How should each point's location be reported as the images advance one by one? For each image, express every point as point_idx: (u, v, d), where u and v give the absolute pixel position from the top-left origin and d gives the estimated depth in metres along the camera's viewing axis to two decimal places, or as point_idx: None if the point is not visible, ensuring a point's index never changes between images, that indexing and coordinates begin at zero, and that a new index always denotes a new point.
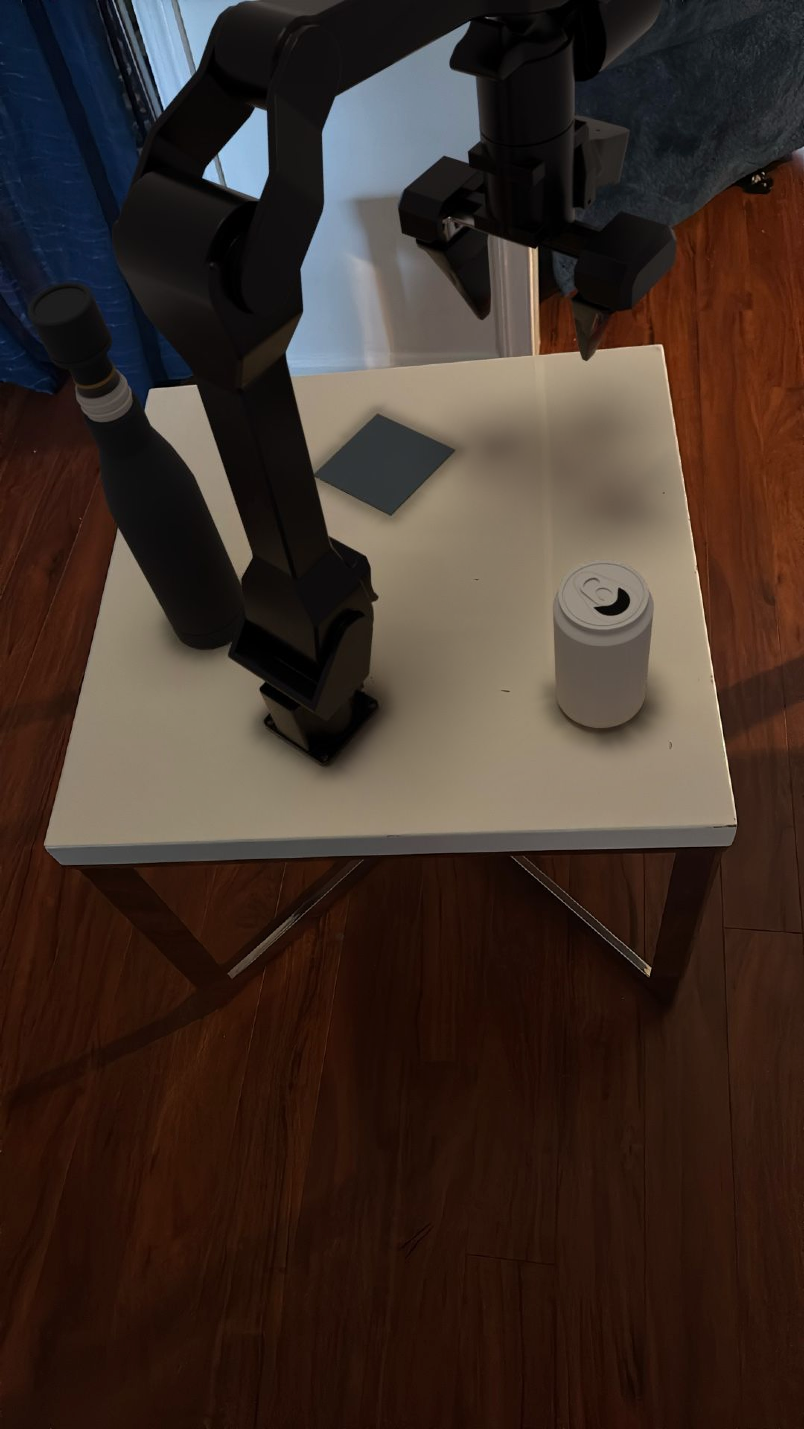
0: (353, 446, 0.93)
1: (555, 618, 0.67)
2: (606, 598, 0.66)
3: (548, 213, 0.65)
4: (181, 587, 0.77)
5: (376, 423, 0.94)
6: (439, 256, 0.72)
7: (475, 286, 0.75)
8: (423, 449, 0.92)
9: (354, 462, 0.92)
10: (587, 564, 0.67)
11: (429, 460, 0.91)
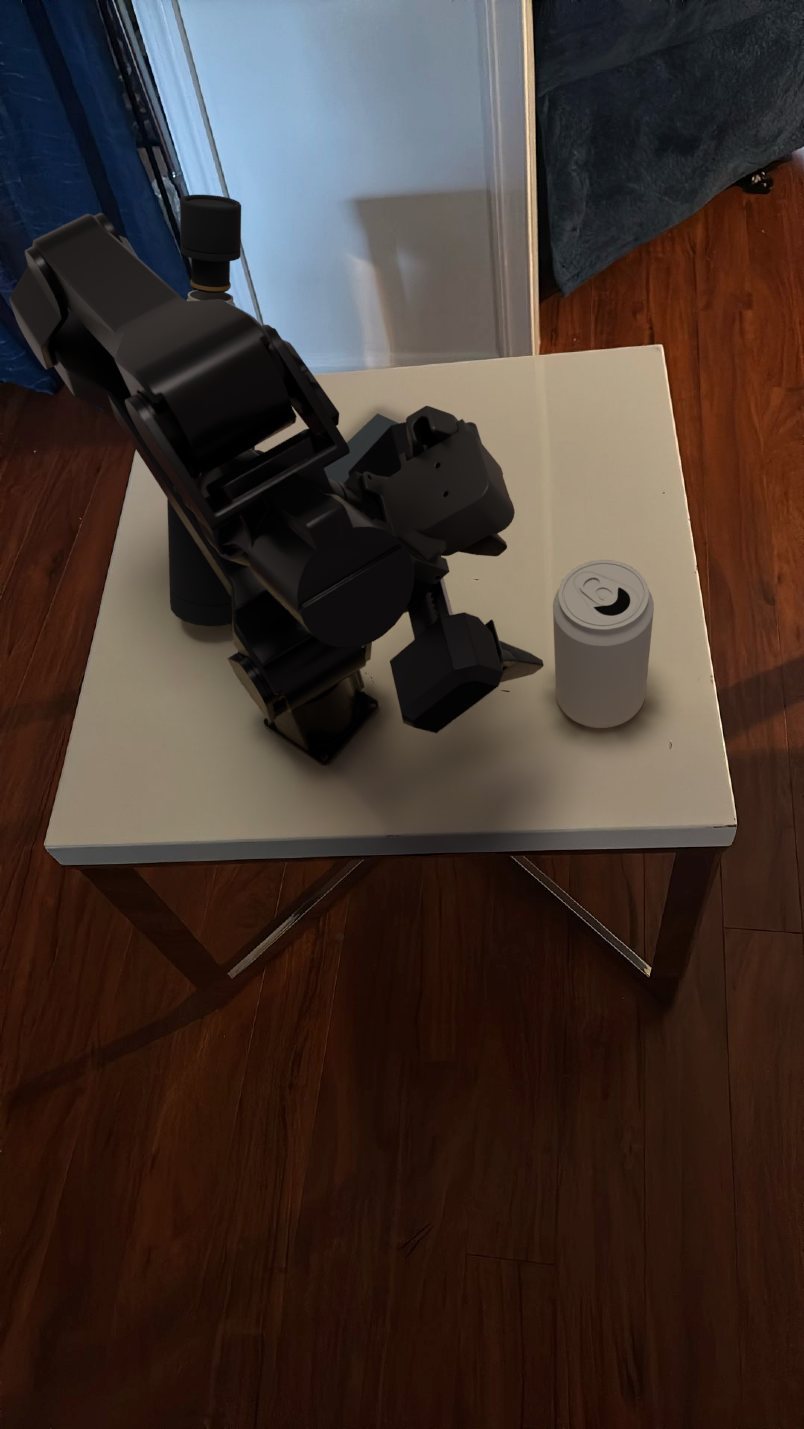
0: (353, 446, 0.93)
1: (555, 618, 0.67)
2: (607, 598, 0.66)
3: None
4: None
5: (376, 423, 0.94)
6: None
7: None
8: None
9: (354, 462, 0.92)
10: (587, 564, 0.67)
11: None
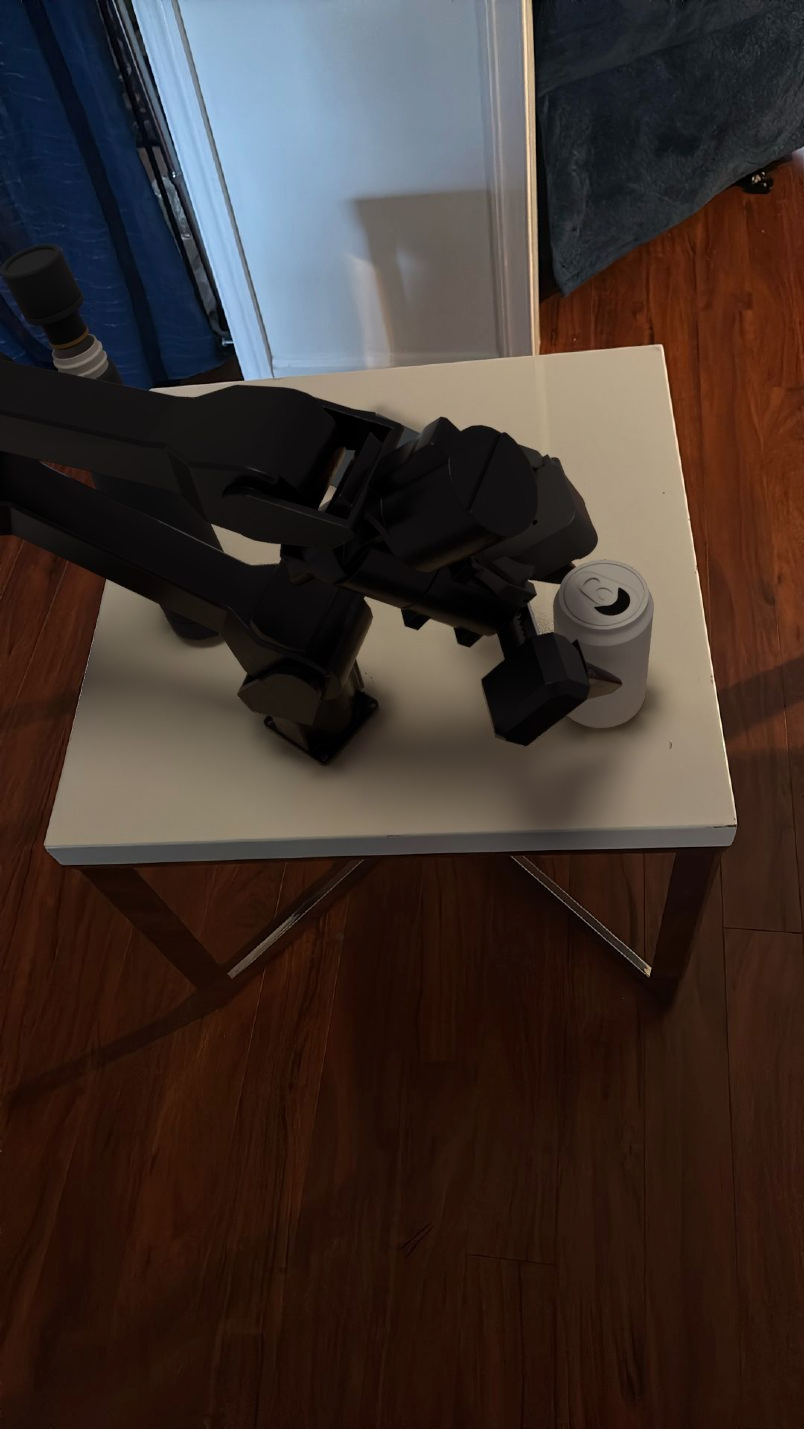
0: None
1: (555, 618, 0.67)
2: (607, 598, 0.66)
3: (465, 628, 0.62)
4: None
5: None
6: None
7: None
8: None
9: None
10: (587, 564, 0.67)
11: None
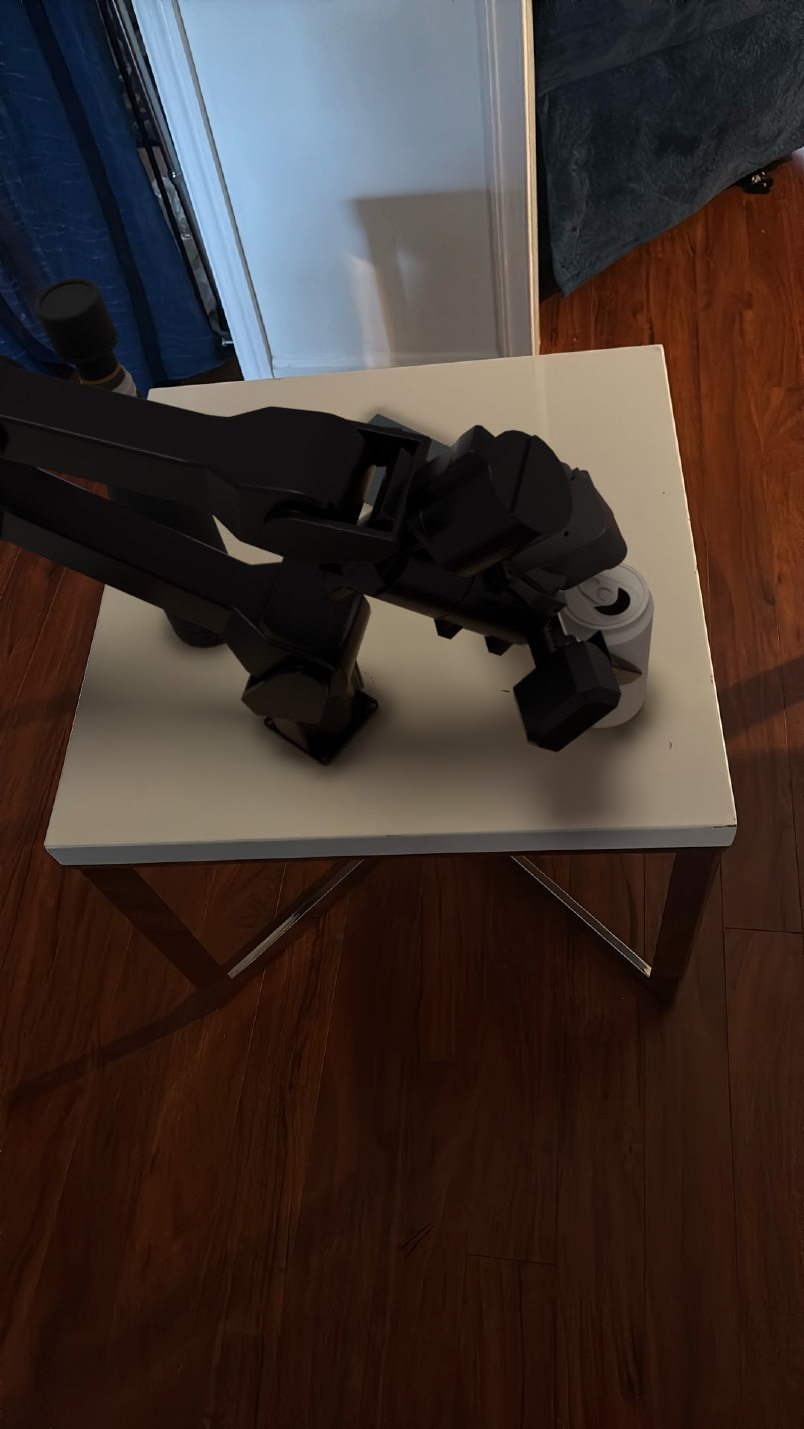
0: None
1: None
2: (607, 598, 0.66)
3: (496, 637, 0.63)
4: None
5: (376, 423, 0.94)
6: None
7: None
8: None
9: None
10: None
11: (429, 460, 0.91)
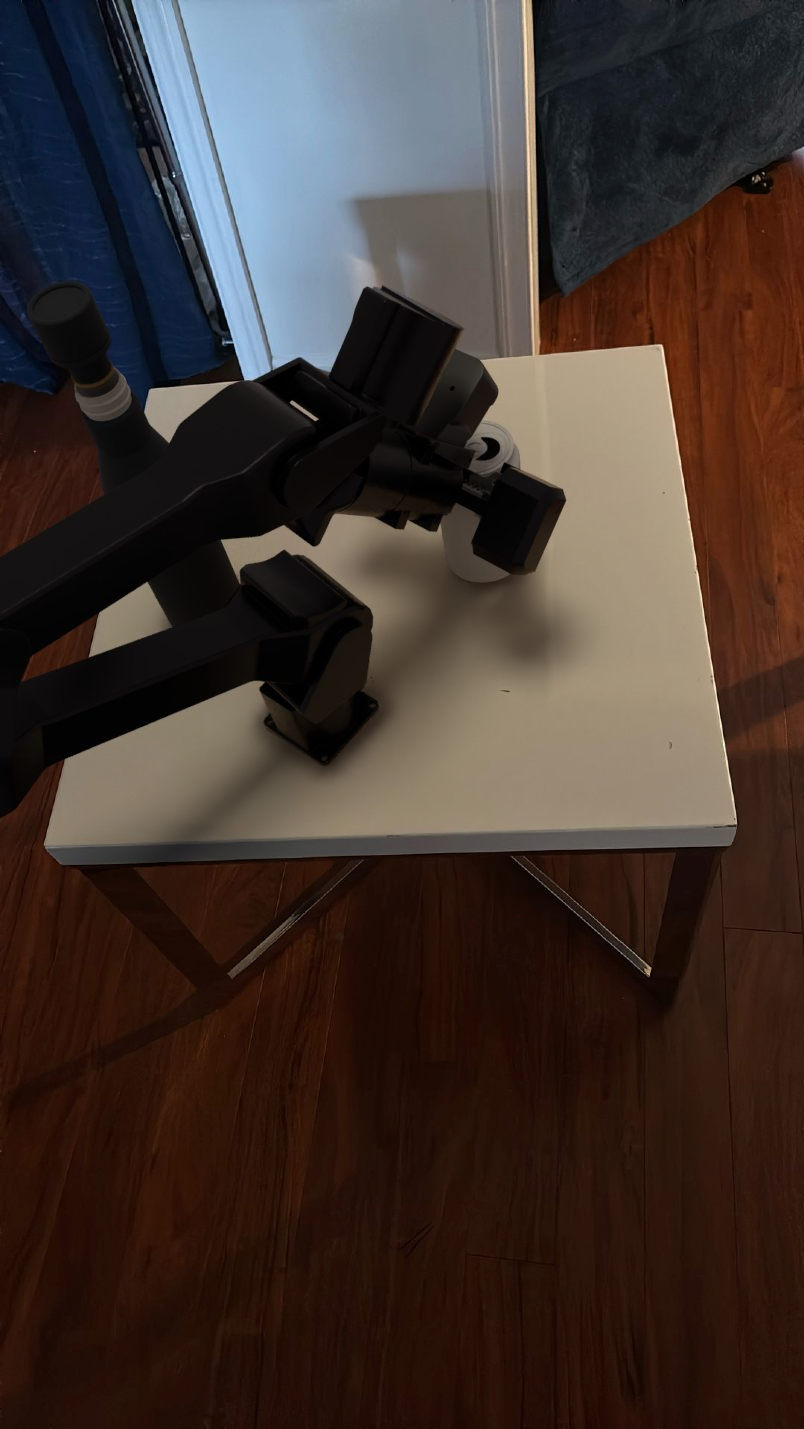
0: None
1: None
2: (479, 449, 0.74)
3: (432, 511, 0.69)
4: (184, 585, 0.77)
5: None
6: None
7: None
8: None
9: None
10: None
11: None
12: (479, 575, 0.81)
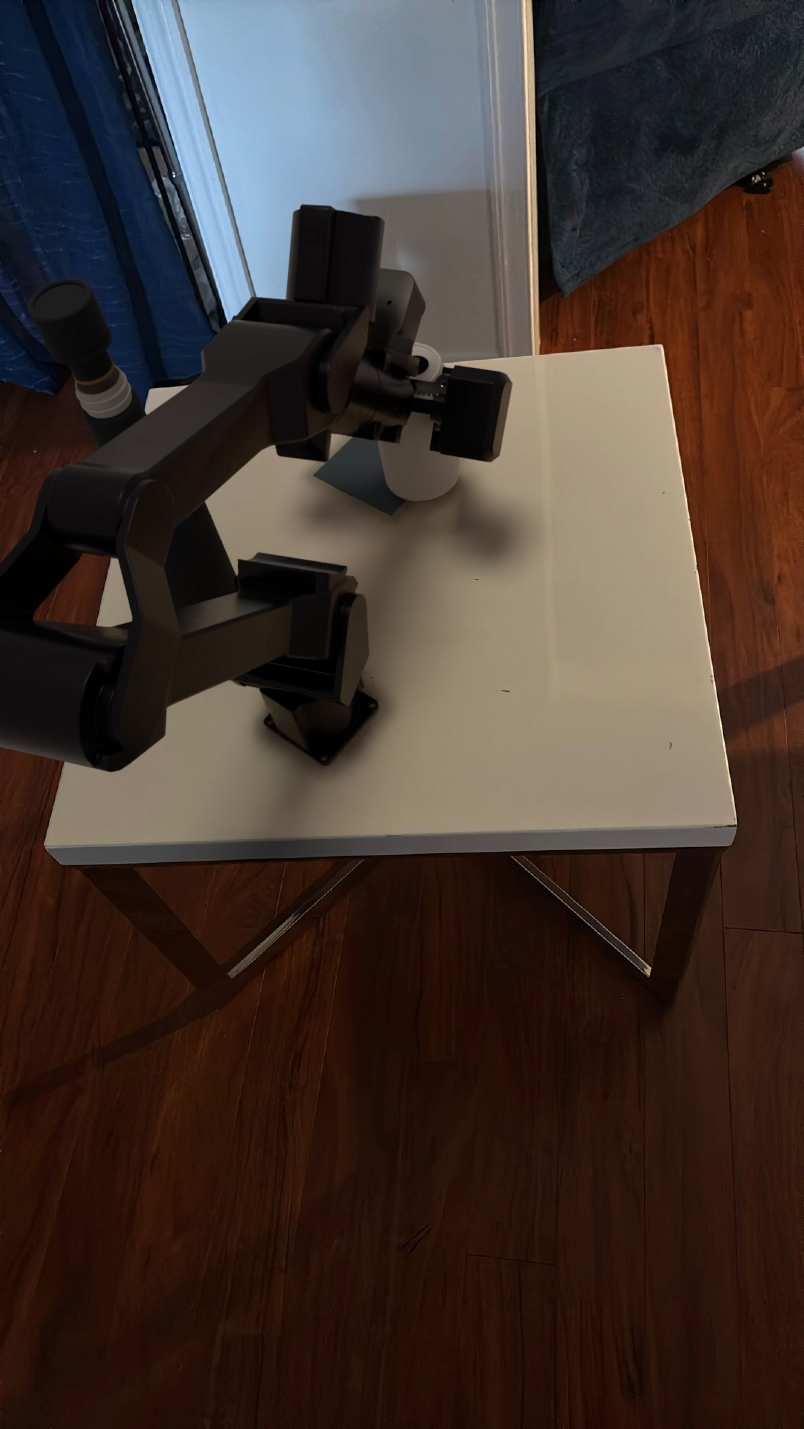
0: (353, 446, 0.93)
1: None
2: None
3: (395, 422, 0.73)
4: (184, 584, 0.77)
5: None
6: None
7: None
8: None
9: (354, 462, 0.92)
10: None
11: None
12: (428, 492, 0.86)
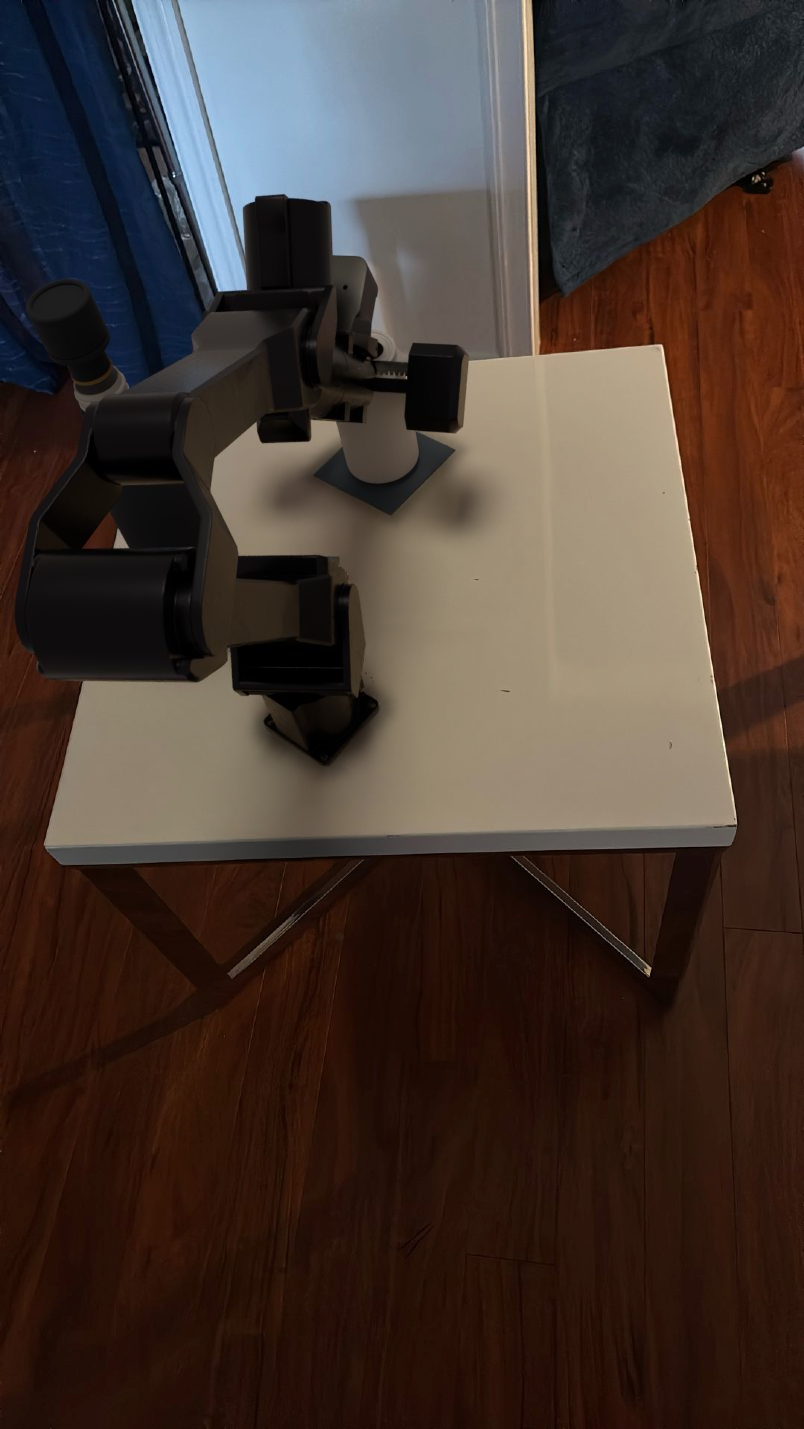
0: None
1: None
2: None
3: (361, 402, 0.76)
4: None
5: None
6: None
7: None
8: (423, 449, 0.92)
9: None
10: None
11: (429, 460, 0.91)
12: (391, 473, 0.88)
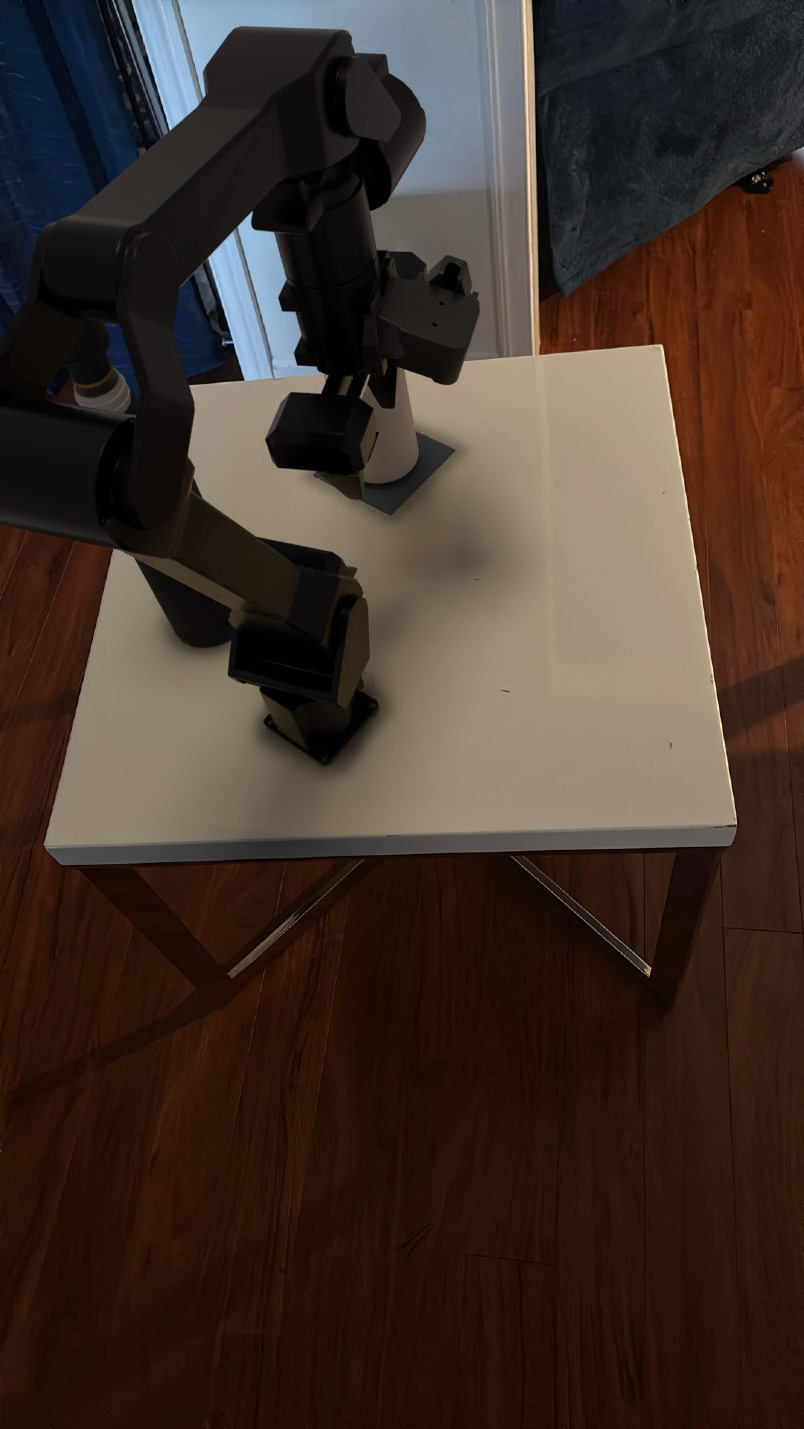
0: None
1: None
2: None
3: (312, 346, 0.65)
4: (185, 585, 0.77)
5: None
6: None
7: None
8: (423, 449, 0.92)
9: None
10: None
11: (429, 460, 0.91)
12: (391, 473, 0.88)
